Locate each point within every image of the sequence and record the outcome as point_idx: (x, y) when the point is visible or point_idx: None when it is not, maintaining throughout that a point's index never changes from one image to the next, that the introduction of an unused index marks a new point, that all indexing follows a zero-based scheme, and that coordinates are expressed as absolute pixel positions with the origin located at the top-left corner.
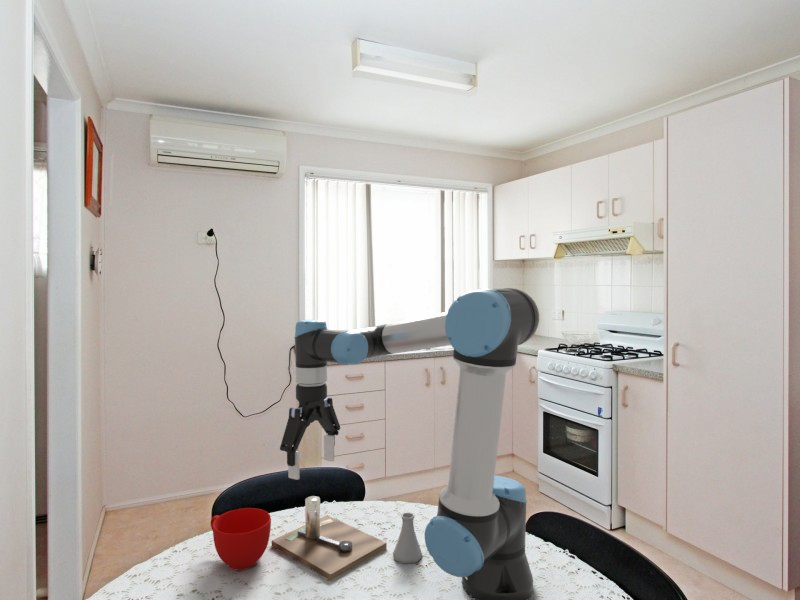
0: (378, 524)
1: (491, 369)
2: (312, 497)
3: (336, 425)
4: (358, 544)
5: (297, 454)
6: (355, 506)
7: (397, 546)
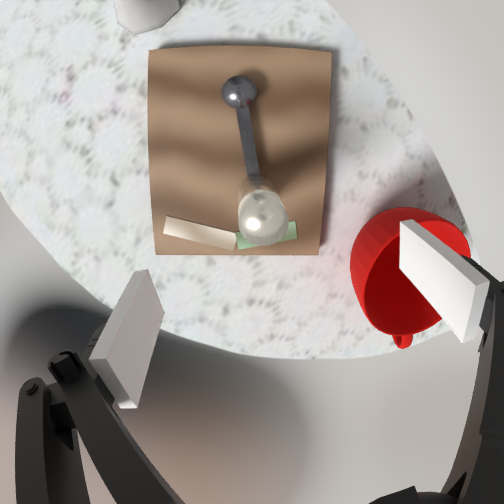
0: (87, 150)
1: None
2: (254, 233)
3: (40, 409)
4: (198, 89)
5: (479, 273)
6: (76, 253)
7: (161, 3)
